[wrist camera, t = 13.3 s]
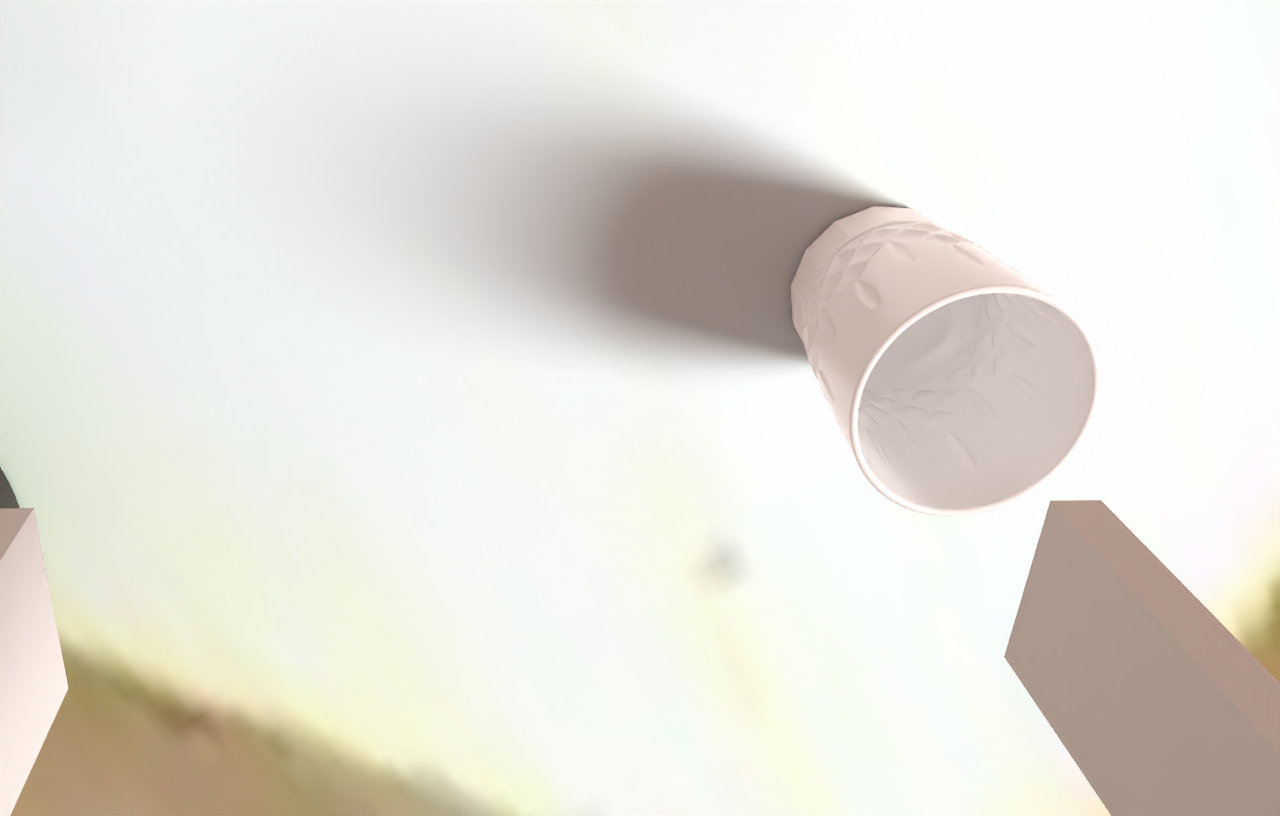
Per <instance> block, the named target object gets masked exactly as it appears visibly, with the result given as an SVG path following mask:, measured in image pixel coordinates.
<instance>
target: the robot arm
mask: <svg viewBox="0 0 1280 816" xmlns="http://www.w3.org/2000/svg"><path fill="white" fill-rule="evenodd" d="M1004 657H1005V658H1006V660H1007V661H1008V663H1009V664H1010V666H1011V667H1012V669H1013V670H1014V672H1015V673H1016V675H1017V676H1018V678H1019V679H1020V681H1021V682H1022V684H1023V685H1024V687H1025V688H1026V690H1027V691H1028V693H1029V694H1030V696H1031V697H1032V699H1033V700H1034V702H1035V703H1036V704H1037V706H1038V707H1039V709H1040V710H1041V712H1042V713H1043V715H1044V716H1045V718H1046V719H1047V721H1048V722H1049V724H1050V725H1051V727H1052V728H1053V730H1054V731H1055V733H1056V734H1057V736H1058V737H1059V739H1060V740H1061V742H1062V743H1063V745H1064V746H1065V748H1066V749H1067V750H1068V752H1069V753H1070V755H1071V756H1072V758H1073V759H1074V761H1075V762H1076V764H1077V765H1078V767H1079V768H1080V770H1081V771H1082V773H1083V774H1084V776H1085V777H1086V779H1087V780H1088V782H1089V783H1090V785H1091V786H1092V788H1093V789H1094V791H1095V792H1096V794H1097V795H1098V796H1099V798H1100V799H1101V801H1102V802H1103V804H1104V805H1105V807H1106V808H1107V810H1108V811H1109V813H1110V814H1111V816H1280V683H1279V682H1278V681H1277V680H1276V679H1275V678H1274V677H1273V676H1272V675H1271V674H1270V673H1269V672H1268V671H1267V669H1266V668H1265V667H1264V666H1263V665H1262V664H1261V663H1260V662H1259V661H1258V660H1257V659H1256V658H1255V657H1254V656H1253V655H1252V654H1251V653H1250V652H1249V651H1248V650H1247V649H1246V648H1245V647H1244V646H1243V645H1242V644H1241V643H1240V642H1239V641H1238V640H1237V639H1236V638H1235V637H1234V636H1233V635H1232V634H1231V633H1230V632H1229V631H1228V630H1227V629H1226V628H1225V627H1224V626H1223V625H1222V624H1221V623H1220V622H1219V621H1218V620H1217V619H1216V617H1215V616H1214V615H1213V614H1212V613H1211V612H1210V611H1209V610H1208V609H1207V608H1206V607H1205V606H1204V605H1203V604H1202V603H1201V602H1200V601H1199V600H1198V599H1197V598H1196V597H1195V596H1194V595H1193V594H1192V593H1191V592H1190V591H1189V590H1188V589H1187V588H1186V587H1185V586H1184V585H1183V584H1182V583H1181V582H1180V581H1179V580H1178V579H1177V578H1176V577H1175V576H1174V575H1173V574H1172V573H1171V572H1170V571H1169V570H1168V569H1167V568H1166V566H1165V565H1164V564H1163V563H1162V562H1161V561H1160V560H1159V559H1158V558H1157V557H1156V556H1155V555H1154V554H1153V553H1152V552H1151V551H1150V550H1149V549H1148V548H1147V547H1146V546H1145V545H1144V544H1143V543H1142V542H1141V541H1140V540H1139V539H1138V538H1137V537H1136V536H1135V535H1134V534H1133V533H1132V532H1131V531H1130V530H1129V529H1128V528H1127V527H1126V526H1125V525H1124V524H1123V523H1122V522H1121V521H1120V520H1119V519H1118V518H1117V517H1116V515H1115V514H1114V513H1113V512H1112V511H1111V510H1110V509H1109V508H1108V507H1107V506H1106V505H1105V504H1104V503H1103V502H1102V501H1101V500H1088V501H1050V504H1049V508H1048V511H1047V514H1046V518H1045V521H1044V525H1043V528H1042V531H1041V535H1040V538H1039V541H1038V545H1037V548H1036V551H1035V555H1034V558H1033V562H1032V565H1031V568H1030V572H1029V575H1028V578H1027V582H1026V585H1025V589H1024V592H1023V595H1022V599H1021V602H1020V605H1019V609H1018V612H1017V616H1016V619H1015V622H1014V626H1013V629H1012V632H1011V636H1010V639H1009V643H1008V646H1007V649H1006V653H1005V656H1004ZM67 690H68V684H67V679H66V674H65V668H64V663H63V658H62V653H61V648H60V643H59V637H58V632H57V627H56V622H55V617H54V611H53V606H52V601H51V596H50V591H49V586H48V580H47V575H46V570H45V565H44V560H43V554H42V549H41V544H40V539H39V534H38V529H37V523H36V518H35V513H34V508H19V505H18V503H17V500H16V497H15V495H14V492H13V490H12V488H11V486H10V484H9V482H8V480H7V478H6V477H5V475H4V473H3V471H2V470H1V468H0V816H10V815H11V812H12V810H13V808H14V806H15V804H16V801H17V799H18V797H19V795H20V793H21V791H22V788H23V786H24V784H25V782H26V780H27V777H28V775H29V773H30V771H31V769H32V766H33V764H34V762H35V760H36V758H37V756H38V753H39V751H40V749H41V747H42V745H43V742H44V740H45V738H46V736H47V734H48V731H49V729H50V727H51V725H52V723H53V721H54V718H55V716H56V714H57V712H58V710H59V707H60V705H61V703H62V701H63V699H64V696H65V694H66V692H67Z"/></svg>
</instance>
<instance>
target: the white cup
mask: <svg viewBox="0 0 1280 816" xmlns="http://www.w3.org/2000/svg"><path fill="white" fill-rule="evenodd" d="M791 301H792V317H793V324H794V327H795V328H796V330H797V332H798V334H799V336H800V338H801V340H802V342H803V344H804V346H805V349H806V352H807V356H808V359H809V362H810V365H811V367H812V369H813V372H814V374H815V376H816V378H817V380H818V383H819V385H820V388H821V390H822V392H823V394H824V396H825V398H826V400H827V402H828V404H829V406H830V408H831V410H832V412H833V414H834V416H835V418H836V420H837V422H838V424H839V426H840V428H841V430H842V432H843V434H844V436H845V438H846V440H847V442H848V444H849V446H850V449H851V451H852V453H853V455H854V457H855V459H856V461H857V463H858V465H859V467H860V469H861V470H862V472H863V474H864V475H865V477H866V478H867V479H868V481H869V482H870V483H871V484H872V485H873V486H874V487H875V488H876V489H877V490H878V491H879V492H880V493H881V494H883V495H884V496H885V497H887V498H888V499H890V500H891V501H893V502H895V503H896V504H898V505H900V506H902V507H905V508H907V509H910V510H913V511H916V512H920V513H924V514H929V515H937V516H962V515H970V514H976V513H981V512H985V511H988V510H992V509H995V508H998V507H1001V506H1003V505H1006V504H1008V503H1010V502H1012V501H1015V500H1017V499H1019V498H1020V497H1022V496H1024V495H1026V494H1027V493H1029V492H1031V491H1032V490H1034V489H1035V488H1037V487H1038V486H1040V485H1041V484H1042V483H1044V482H1045V481H1046V480H1047V479H1049V478H1050V477H1051V476H1052V475H1053V474H1054V473H1055V472H1056V471H1057V470H1058V469H1059V468H1060V467H1061V466H1062V465H1063V464H1064V463H1065V462H1066V461H1067V460H1068V459H1069V457H1070V456H1071V455H1072V454H1073V452H1074V451H1075V450H1076V448H1077V447H1078V445H1079V444H1080V442H1081V441H1082V439H1083V437H1084V436H1085V434H1086V432H1087V430H1088V428H1089V426H1090V424H1091V421H1092V419H1093V416H1094V413H1095V410H1096V407H1097V403H1098V399H1099V393H1100V385H1101V369H1100V361H1099V356H1098V352H1097V348H1096V345H1095V343H1094V340H1093V338H1092V336H1091V334H1090V332H1089V330H1088V329H1087V327H1086V326H1085V324H1084V323H1083V321H1082V320H1081V319H1080V318H1079V317H1078V316H1077V314H1076V313H1075V312H1073V311H1072V310H1071V309H1070V308H1069V307H1068V306H1066V305H1065V304H1064V303H1062V302H1061V301H1059V300H1058V299H1056V298H1055V297H1053V296H1052V295H1050V294H1049V293H1047V292H1046V291H1044V290H1043V289H1041V288H1040V287H1038V286H1037V285H1035V284H1034V283H1033V282H1031V281H1030V280H1028V279H1027V278H1025V277H1024V276H1022V275H1021V274H1019V273H1018V272H1017V271H1015V270H1014V269H1012V268H1011V267H1009V266H1008V265H1006V264H1005V263H1003V262H1002V261H1000V260H999V259H998V258H996V257H995V256H993V255H992V254H990V253H989V252H987V251H986V250H984V249H983V248H981V247H980V246H979V245H977V244H975V243H973V242H971V241H969V240H967V239H966V238H965V237H963V236H962V235H960V234H958V233H956V232H953V231H949V230H947V229H945V228H944V227H942V226H940V225H939V224H937V223H936V222H934V221H932V220H931V219H929V218H928V217H926V216H924V215H923V214H921V213H920V212H918V211H916V210H915V209H912V208H897V207H881V206H872V207H870V208H867V209H865V210H862V211H860V212H857V213H854V214H852V215H849V216H847V217H844V218H842V219H839V220H836V221H835V222H834V223H833V224H832V225H831V226H830V227H829V228H828V229H827V230H825V231H824V232H823V233H822V234H821V235H820V236H819V237H818V238H817V239H816V240H815V241H814V242H813V243H812V244H811V245H810V246H809V247H808V248H807V249H806V250H805V252H804V255H803V257H802V260H801V262H800V265H799V267H798V270H797V272H796V274H795V277H794V279H793V282H792V284H791Z"/></svg>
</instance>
